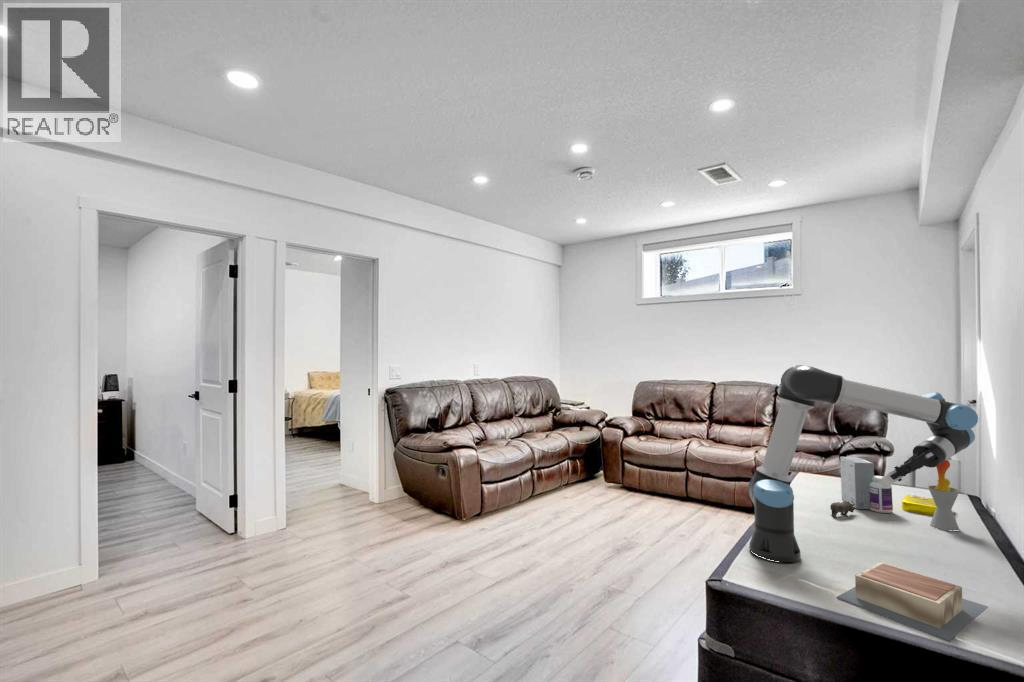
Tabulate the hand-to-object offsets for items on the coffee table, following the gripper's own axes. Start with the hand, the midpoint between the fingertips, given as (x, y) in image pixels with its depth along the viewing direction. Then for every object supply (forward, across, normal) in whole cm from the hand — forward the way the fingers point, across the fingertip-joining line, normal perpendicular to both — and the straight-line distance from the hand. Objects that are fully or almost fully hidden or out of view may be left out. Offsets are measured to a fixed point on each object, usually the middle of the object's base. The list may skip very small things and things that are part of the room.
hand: (882, 483), depth 149 cm
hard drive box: (-45, +71, -5) cm, 84 cm away
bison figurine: (-27, +60, -5) cm, 66 cm away
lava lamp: (-49, +47, -25) cm, 73 cm away
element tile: (-65, +65, -20) cm, 94 cm away
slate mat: (+20, +2, -26) cm, 33 cm away
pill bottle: (-46, +64, -11) cm, 79 cm away
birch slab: (+13, +2, -24) cm, 28 cm away
